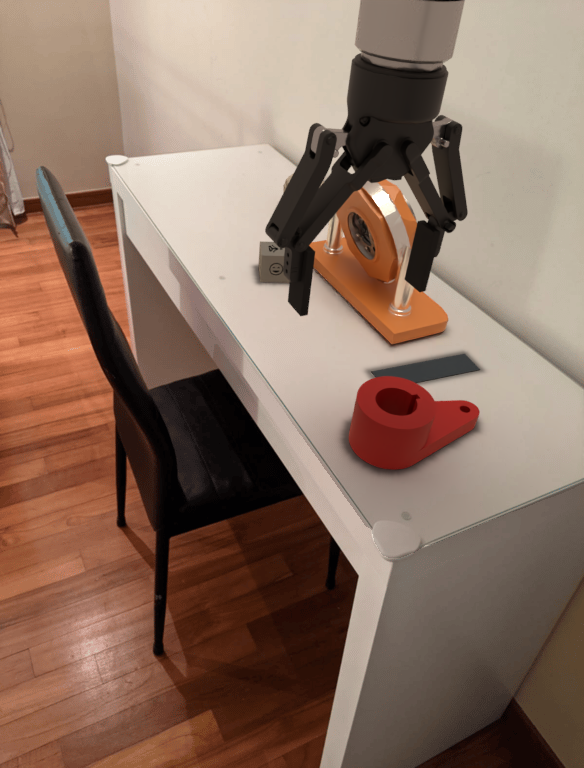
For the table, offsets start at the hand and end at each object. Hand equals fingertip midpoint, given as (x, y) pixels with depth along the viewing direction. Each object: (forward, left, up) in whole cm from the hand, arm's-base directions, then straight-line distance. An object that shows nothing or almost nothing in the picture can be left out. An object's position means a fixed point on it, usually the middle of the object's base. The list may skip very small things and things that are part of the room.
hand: (358, 296), depth 60 cm
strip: (+11, -20, -22) cm, 31 cm away
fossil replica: (+66, -24, -22) cm, 73 cm away
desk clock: (+33, -22, -22) cm, 45 cm away
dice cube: (+42, -8, -22) cm, 48 cm away
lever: (0, -12, -22) cm, 25 cm away
